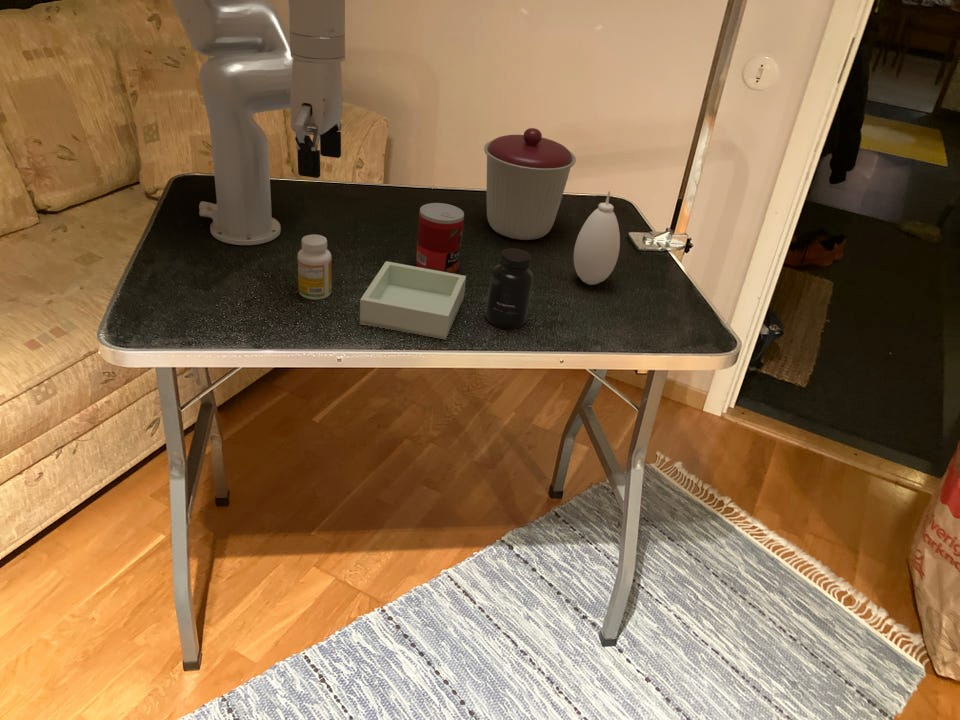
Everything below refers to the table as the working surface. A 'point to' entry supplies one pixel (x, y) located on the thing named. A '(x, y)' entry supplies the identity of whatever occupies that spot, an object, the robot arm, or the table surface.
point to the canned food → (439, 237)
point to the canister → (525, 183)
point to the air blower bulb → (597, 245)
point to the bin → (413, 300)
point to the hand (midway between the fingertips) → (320, 166)
